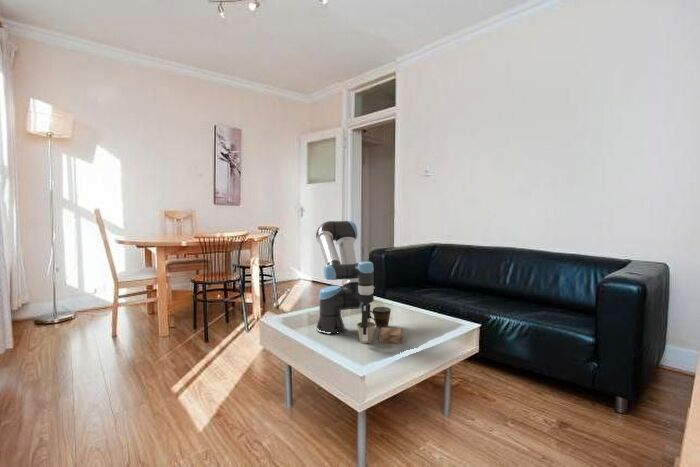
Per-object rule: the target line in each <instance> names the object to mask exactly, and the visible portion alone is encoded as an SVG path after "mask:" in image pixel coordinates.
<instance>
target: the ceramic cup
mask: <svg viewBox="0 0 700 467" xmlns="http://www.w3.org/2000/svg"><path fill="white" fill-rule="evenodd" d="M391 310H392V309H391V307H388V306H376V307H373V308H372V310H370V313H371V314H372V315H373V317H374V318H373V317H372V318H371V319H372V320H373V321H374V323H375V324H376V326H375V328H377V329H380V328H389V322H390V316H391Z"/></svg>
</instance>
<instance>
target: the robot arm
mask: <svg viewBox="0 0 700 467" xmlns="http://www.w3.org/2000/svg"><path fill="white" fill-rule="evenodd" d="M315 237H316V238H315V239H316V242H317V243H318V244H319V246H320V249H321V252H322V256H323V260H324V263H325V265H324V268H323V274H324V276H323V277H324V278H325V280H328V281H331V280H332V281H337V280H343V281H344V284H343V285H341V286H342V287H341V286H340V285H329V286H325V287H323V288H321V289H320V290H319V293H318V294H319V297H318V299H319V300H318V301H319V304H318V305H319V317H318V319H317V324H316V329H317V328H318V329H319V330H321V331H325V332H331V333H337V332H341V333H343V332H344V331H345V322H344V321H343V317H342V311H347V310H359V309H361V322H362V326H360V328H362V341H368V326H367V323H368V322H371V319H372V318H373V316H372V314H371V312H370V311H371V303H373V302H374V301H375V300H374V299H375V298H374V296H375V295H374V289H376V288H375V286H374V269H375V268H374V263H373V262H372V261H359V262H357V257H356V251H355V245H354V244H355V243H356V240H357V239H358V229H357V225H356V224H355V222H354V221H352V220H332V221H330V220H328V221H325V222H323V223H322V224H320V226H318V229H317V230H316V233H315ZM334 241H335V242H334ZM335 244H336V245H337V246H339V247H338V248H339V253H340V258H339V255H338V252H337V249H336V246H335ZM342 331H343V332H342ZM337 334H338V333H337Z"/></svg>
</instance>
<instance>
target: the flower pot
mask: <svg viewBox="0 0 700 467" xmlns="http://www.w3.org/2000/svg"><path fill="white" fill-rule="evenodd" d="M360 326H362V321H359V322H357V323H356V327H357V329H358V336H359V337H358V338H359V342H360V343H361V344H365V345H366V344H371V343H373V339H374V331H375V328H376V324H375V322H372V321H370V322H368V323H367V326H368V341H362V328H360Z"/></svg>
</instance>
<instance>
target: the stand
mask: <svg viewBox="0 0 700 467" xmlns="http://www.w3.org/2000/svg"><path fill="white" fill-rule="evenodd" d="M378 340H379V343H381V344H382V343H384V344H403V328H402V327H401V328H400V327H387V328H379V334H378Z"/></svg>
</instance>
